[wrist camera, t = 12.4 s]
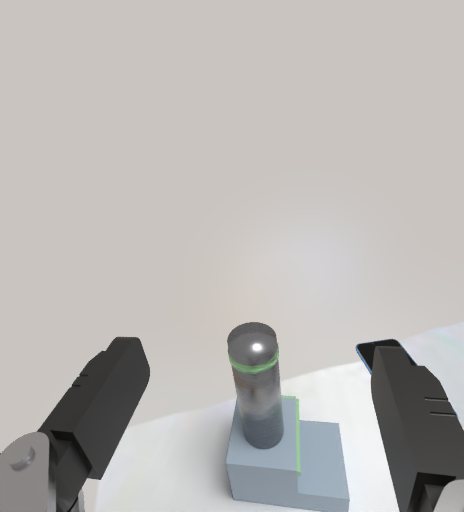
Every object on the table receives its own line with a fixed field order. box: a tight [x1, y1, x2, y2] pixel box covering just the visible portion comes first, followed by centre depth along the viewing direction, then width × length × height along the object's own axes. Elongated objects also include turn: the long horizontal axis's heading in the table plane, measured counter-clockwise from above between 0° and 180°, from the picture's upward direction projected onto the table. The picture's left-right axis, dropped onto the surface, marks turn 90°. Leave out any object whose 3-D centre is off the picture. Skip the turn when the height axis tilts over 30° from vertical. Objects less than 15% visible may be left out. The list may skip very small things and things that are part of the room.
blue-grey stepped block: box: [226, 396, 349, 512], centre depth 35 cm, size 12×8×7 cm
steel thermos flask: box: [227, 322, 284, 449], centre depth 31 cm, size 5×5×13 cm
